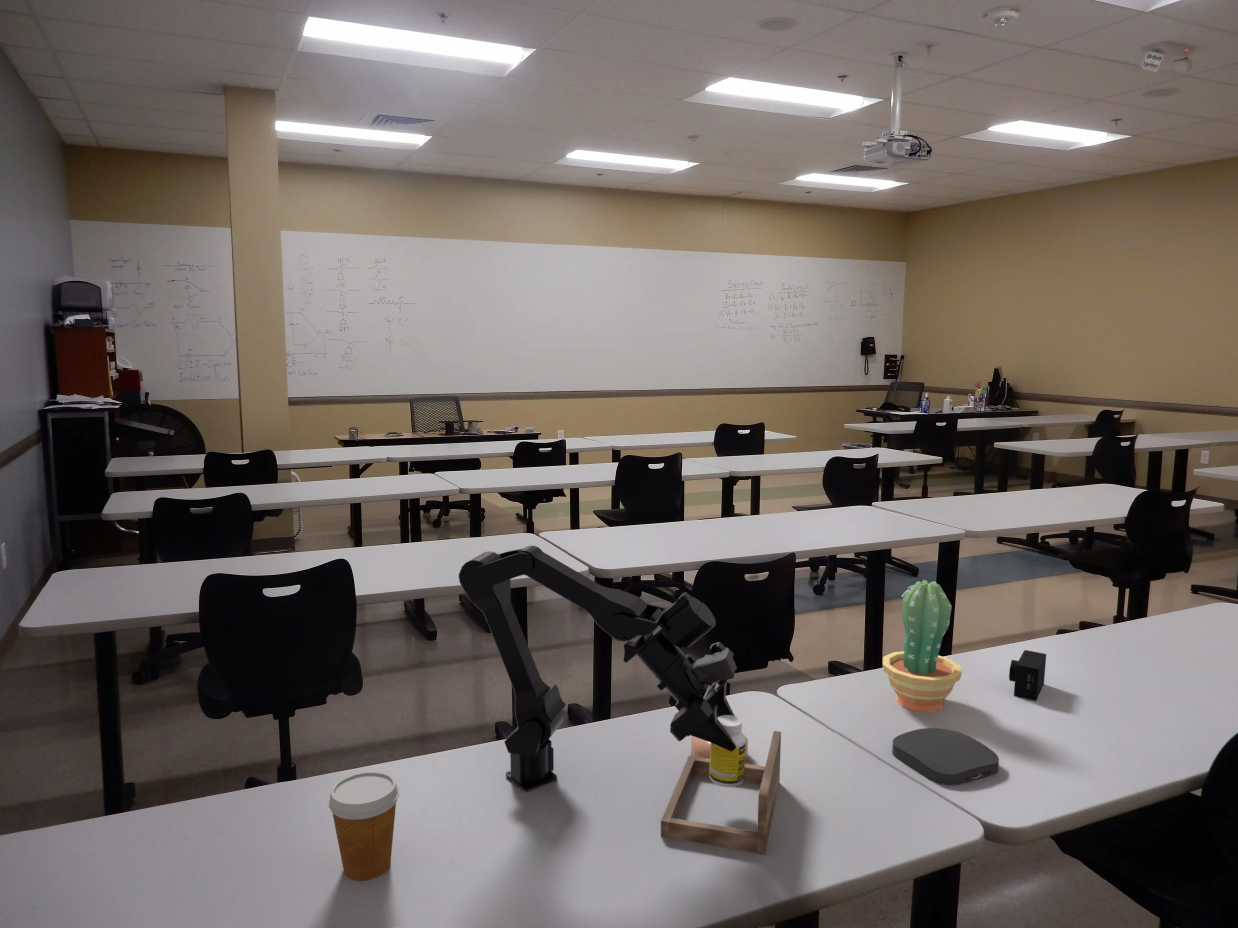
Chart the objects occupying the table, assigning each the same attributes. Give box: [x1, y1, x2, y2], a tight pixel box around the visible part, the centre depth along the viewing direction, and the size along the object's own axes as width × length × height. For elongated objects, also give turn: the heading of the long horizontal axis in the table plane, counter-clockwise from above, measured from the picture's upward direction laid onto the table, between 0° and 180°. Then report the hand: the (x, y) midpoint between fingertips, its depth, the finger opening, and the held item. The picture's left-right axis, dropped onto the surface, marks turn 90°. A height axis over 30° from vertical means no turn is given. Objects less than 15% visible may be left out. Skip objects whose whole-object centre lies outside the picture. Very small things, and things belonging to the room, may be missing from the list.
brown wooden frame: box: [660, 730, 782, 855], centre depth 131 cm, size 15×20×9 cm
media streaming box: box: [891, 727, 1000, 786], centre depth 147 cm, size 15×15×3 cm
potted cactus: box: [882, 579, 962, 713], centre depth 169 cm, size 15×15×25 cm
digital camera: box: [1008, 649, 1047, 702], centre depth 176 cm, size 10×5×7 cm, turn 146°
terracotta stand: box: [690, 734, 749, 764], centre depth 148 cm, size 10×10×3 cm
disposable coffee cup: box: [327, 770, 400, 882], centre depth 116 cm, size 10×10×12 cm
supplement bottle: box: [708, 715, 746, 788], centre depth 130 cm, size 5×5×10 cm
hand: (736, 740), depth 130 cm, fingers closed on supplement bottle, 5 cm apart
